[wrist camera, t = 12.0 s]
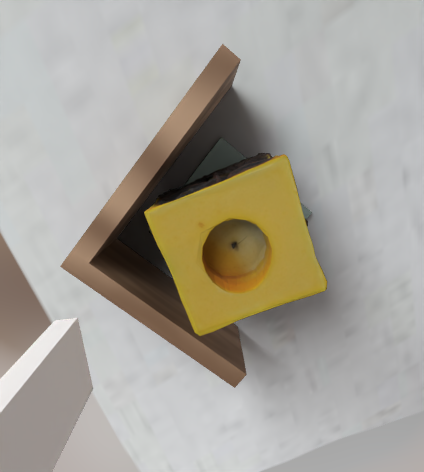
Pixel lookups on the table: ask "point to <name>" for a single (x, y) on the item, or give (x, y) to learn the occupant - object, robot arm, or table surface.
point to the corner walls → (139, 269)
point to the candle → (236, 242)
